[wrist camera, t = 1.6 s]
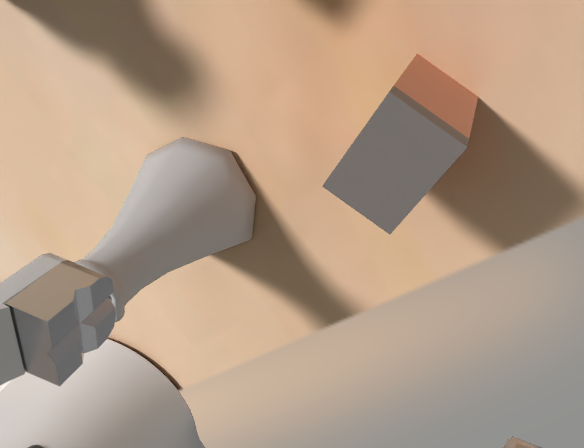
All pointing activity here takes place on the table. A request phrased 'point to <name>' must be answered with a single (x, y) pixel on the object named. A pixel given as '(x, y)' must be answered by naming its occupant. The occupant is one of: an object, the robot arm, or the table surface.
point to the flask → (174, 217)
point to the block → (405, 145)
